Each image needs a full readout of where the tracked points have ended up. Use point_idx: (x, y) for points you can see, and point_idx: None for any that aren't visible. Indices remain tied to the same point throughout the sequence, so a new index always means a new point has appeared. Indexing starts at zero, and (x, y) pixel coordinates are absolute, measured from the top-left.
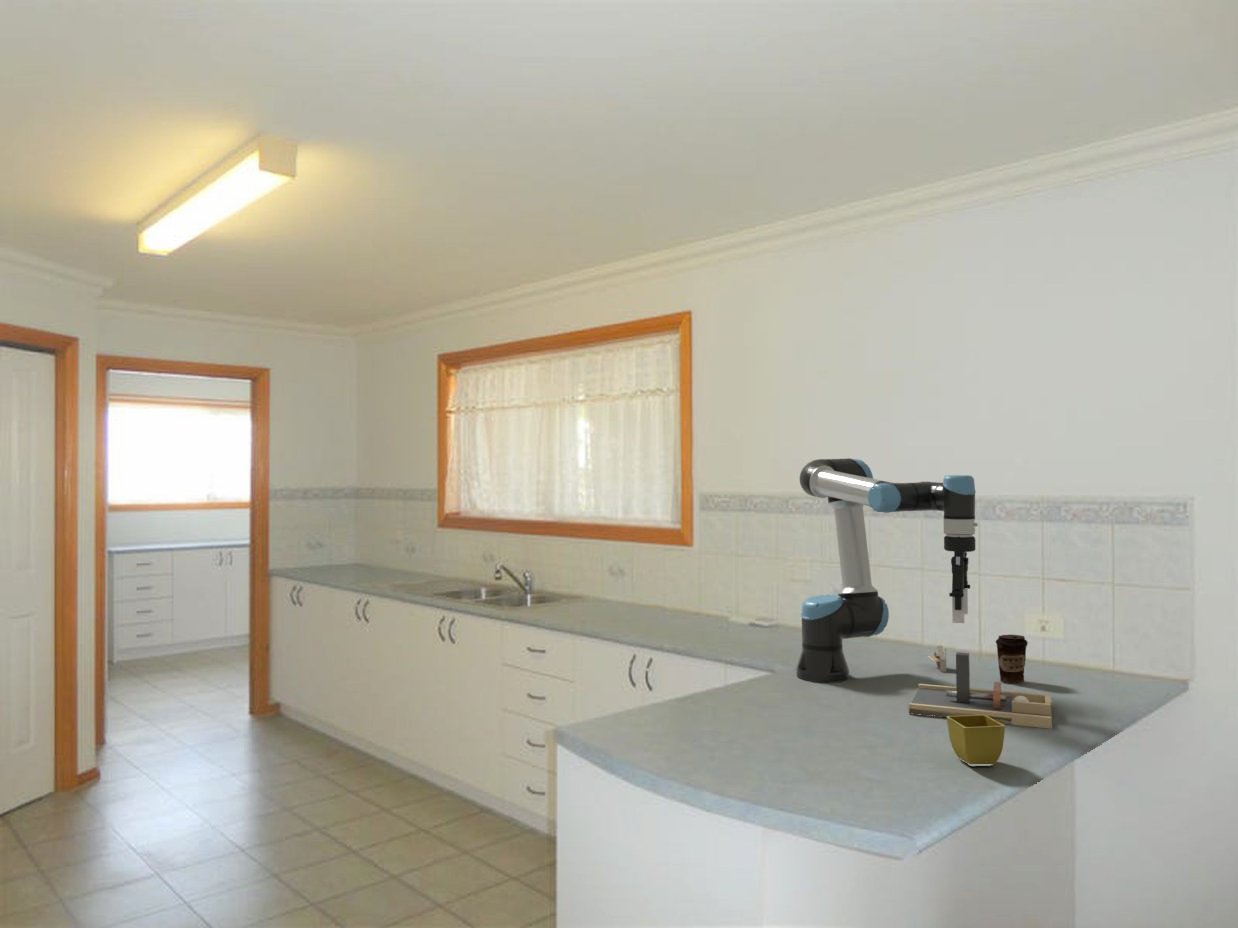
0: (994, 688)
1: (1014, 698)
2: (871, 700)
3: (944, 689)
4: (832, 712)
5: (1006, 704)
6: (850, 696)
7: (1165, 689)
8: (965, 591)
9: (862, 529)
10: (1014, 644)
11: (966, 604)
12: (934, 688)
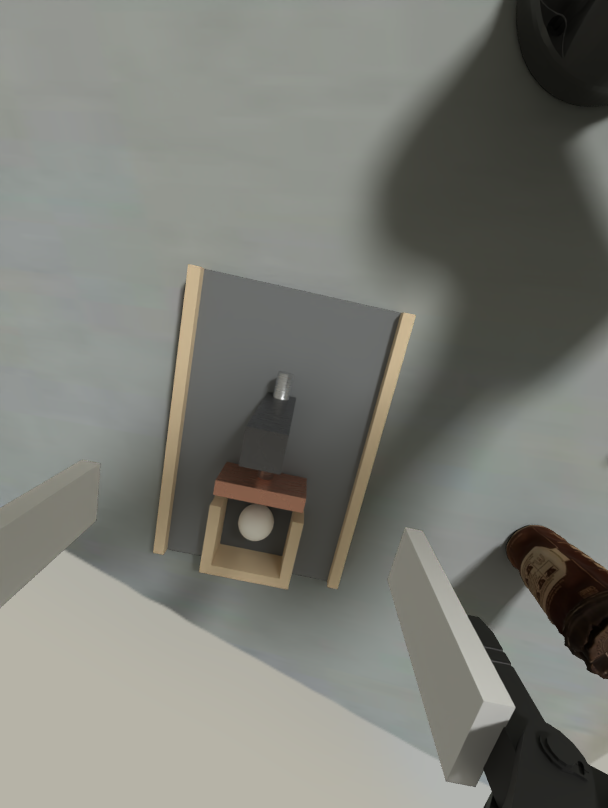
0: (236, 486)
1: (255, 516)
2: (311, 173)
3: (383, 379)
4: (162, 41)
5: None
6: (347, 106)
7: None
8: (441, 739)
9: None
10: (567, 631)
11: (405, 627)
12: (390, 354)
